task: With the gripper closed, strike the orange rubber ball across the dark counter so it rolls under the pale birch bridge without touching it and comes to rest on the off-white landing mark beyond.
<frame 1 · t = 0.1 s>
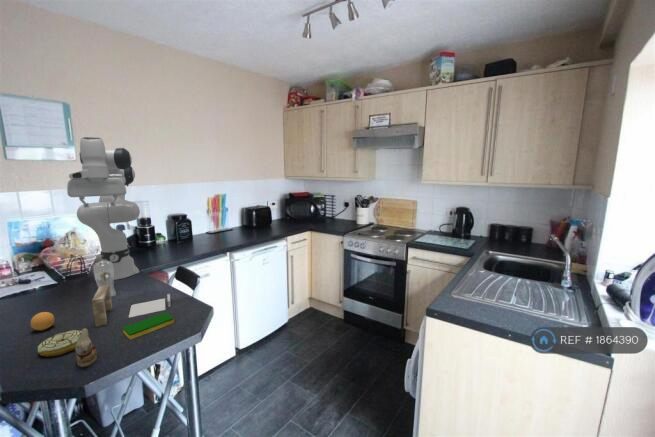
hand: (100, 206, 129), 39 cm above the breakfast bar, tool pointing down, fingers open, 8 cm apart
decorated donut: (63, 349, 91), on the breakfast bar
beer glass: (107, 296, 130), on the breakfast bar
ball: (42, 321, 102), on the breakfast bar
stopper: (169, 303, 121), on the breakfast bar
dish sponge: (149, 329, 102), on the breakfast bar
chocolate bunny: (87, 361, 85), on the breakfast bar
bridge: (104, 316, 111), on the breakfast bar
landing mark: (148, 307, 117), on the breakfast bar
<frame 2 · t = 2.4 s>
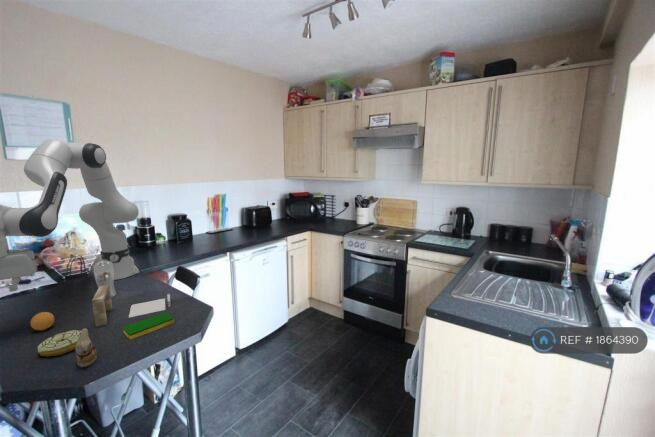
nothing on the breakfast bar moved.
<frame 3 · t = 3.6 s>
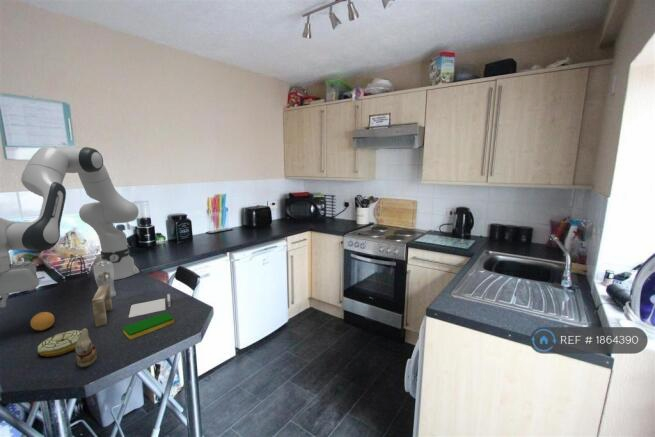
nothing on the breakfast bar moved.
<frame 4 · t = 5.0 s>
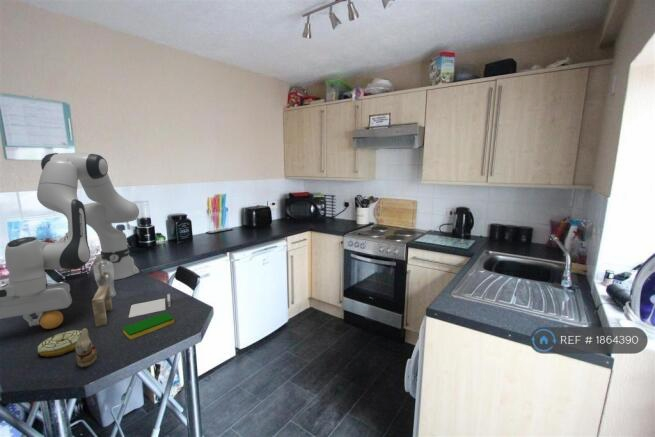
hand: (35, 324, 101), 2 cm above the breakfast bar, tool pointing down, fingers closed
ball: (51, 319, 103), on the breakfast bar
everything else where it was.
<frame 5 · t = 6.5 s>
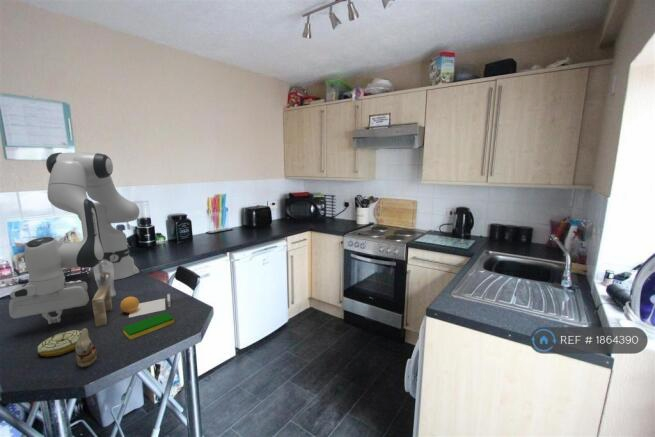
hand: (54, 322, 104), 2 cm above the breakfast bar, tool pointing down, fingers closed
ball: (129, 304, 114), on the breakfast bar
everything else where it was.
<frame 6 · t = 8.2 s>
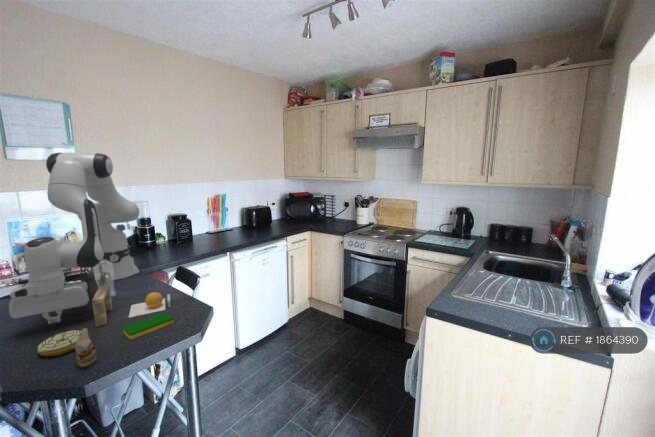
hand: (54, 322, 104), 2 cm above the breakfast bar, tool pointing down, fingers closed
ball: (154, 299, 117), on the breakfast bar
everything else where it was.
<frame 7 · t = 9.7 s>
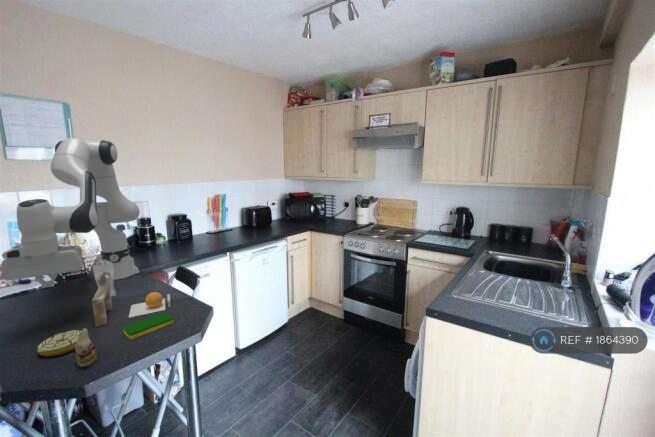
hand: (48, 286, 102), 15 cm above the breakfast bar, tool pointing down, fingers closed
nothing on the breakfast bar moved.
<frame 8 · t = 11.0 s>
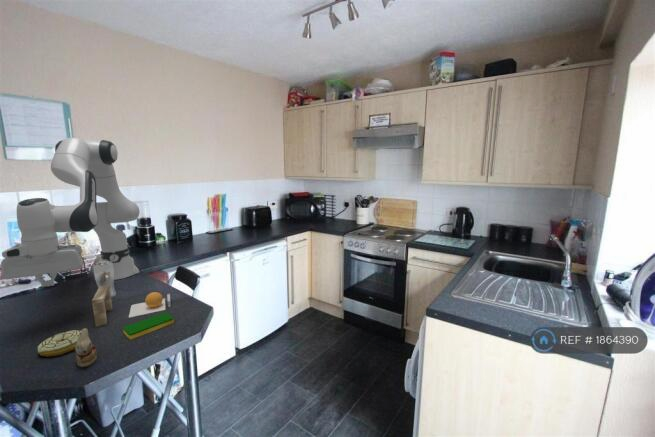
hand: (48, 286, 101), 15 cm above the breakfast bar, tool pointing down, fingers closed
nothing on the breakfast bar moved.
at the end: ball 2.4 cm from the landing mark (horizontally); ball never touched bridge; ball at rest at the end (0.0 cm/s) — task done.
